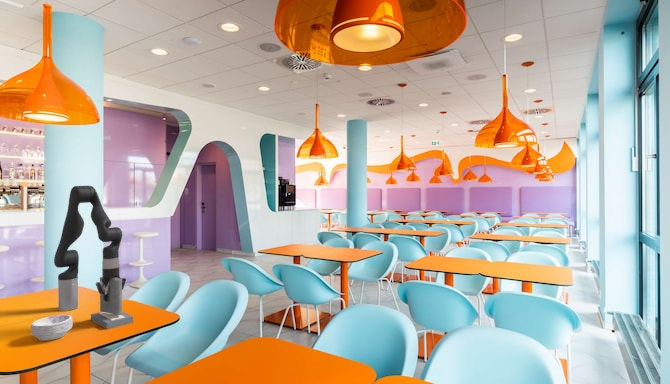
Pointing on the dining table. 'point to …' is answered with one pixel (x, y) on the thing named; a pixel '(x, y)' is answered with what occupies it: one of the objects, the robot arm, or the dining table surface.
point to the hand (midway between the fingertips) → (111, 300)
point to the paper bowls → (51, 327)
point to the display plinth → (111, 319)
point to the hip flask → (112, 297)
